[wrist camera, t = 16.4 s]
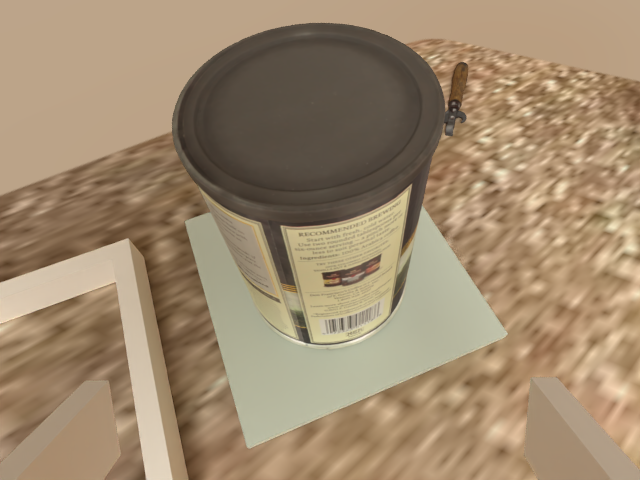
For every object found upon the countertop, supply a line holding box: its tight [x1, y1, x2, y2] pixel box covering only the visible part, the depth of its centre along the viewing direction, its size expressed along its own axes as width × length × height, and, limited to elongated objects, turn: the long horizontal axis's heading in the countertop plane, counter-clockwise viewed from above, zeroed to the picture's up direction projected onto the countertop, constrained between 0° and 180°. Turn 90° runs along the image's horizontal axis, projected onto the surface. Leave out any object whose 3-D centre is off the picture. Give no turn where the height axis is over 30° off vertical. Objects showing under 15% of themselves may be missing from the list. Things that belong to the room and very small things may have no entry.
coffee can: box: [172, 23, 445, 350], centre depth 22 cm, size 10×10×14 cm
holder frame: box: [0, 238, 189, 480], centre depth 24 cm, size 17×17×2 cm
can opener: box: [444, 62, 468, 136], centre depth 37 cm, size 9×2×1 cm, turn 157°
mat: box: [185, 206, 508, 449], centre depth 29 cm, size 16×16×1 cm
